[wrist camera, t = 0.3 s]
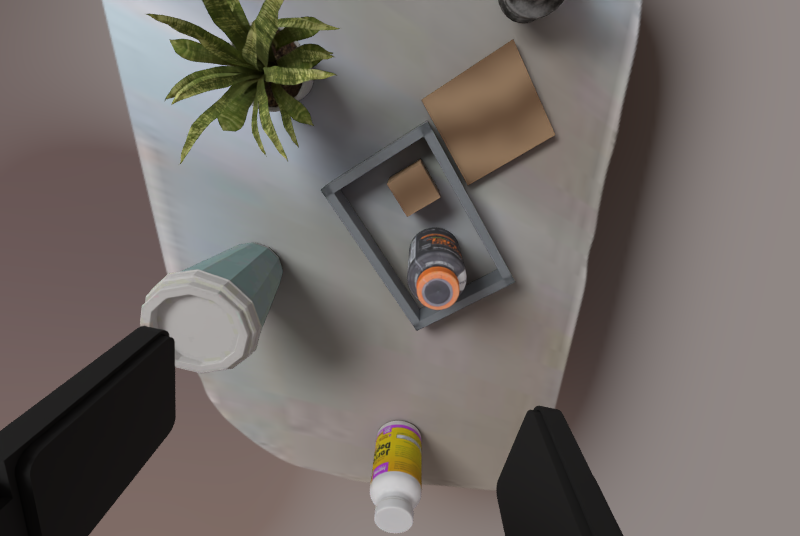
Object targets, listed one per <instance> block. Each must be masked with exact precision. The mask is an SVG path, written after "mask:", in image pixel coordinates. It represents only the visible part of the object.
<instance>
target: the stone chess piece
mask: <svg viewBox="0 0 800 536" xmlns="http://www.w3.org/2000/svg"><path fill="white" fill-rule="evenodd" d="M563 1H564V0H499V5H500V7H501V9H502V11H503V12H504V14H505V15H506V16H507V17H508V18H510V19H511V20H512V21H515V22H519V23H527V22H531V21H534V20H536V19H537V18H540V17H544V16H547V15H548V14H550V13H551V12H553V11H554V10H556V9H557V8H558V6H559V5H560V4H561V3H562V2H563Z"/></svg>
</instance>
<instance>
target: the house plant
mask: <svg viewBox="0 0 800 536" xmlns="http://www.w3.org/2000/svg"><path fill="white" fill-rule="evenodd" d="M202 1H203V3H204V5H205V7H206V9H207V11H208V13H209V15H210V17H211V18H212V20H213V22H214V23H215V24H216V25H217V26H218V27H219V28H220V29H221V30H222V31H223V32H224V33H225V34H226V35H227V37H228V38H229V39H230V41H231V42H230V44H229V43H227V42H226V41H224V40H222V39H220V38H218V37H217V36H215V35H213V34H211V33H209V32H207V31H206V30H204V29H202V28H201V27H199V26H197V25H195V24H192V23H190V22H187V21H184V20H181V19H178V18H174V17H170V16H165V15H156V14H147V15H149V16H151V17H152V18H154V19H155V20H157V21H160V22H162V23H165V24H168V25H169V26H171V27H172V28H173V29H175V30H177V31H178V32H180V33H183V34H186V35H188V36H191V37H193V38H195V39H197V40H199V42H200V43H201V44H200V43H198V42H195V41H192V40H188V39H176V40H170V42H171V44H172V46H173V48H174V50H175V52H176V53H177V54H178V55H180V56H181V57H183V58H185V59H187V60H190V61H195V62H204V63H213V64H220V65H227V66H219V67H214V68H210V69H206V70H201V71H197V72H194V73H192V74H190V75H188V76H186V77H185V78H183V79H182V80H181V81H179V82H178V83H177V84H176V85H175V86H174V87H173V88H172V89H171V91H170V93H169V94H168V95H167V97H166V99H169V98H173V97H175V98H174V100H173V102H172V104H174V103H176V102H178V101H180V100H183V99H186V98H189V97H191V96H194V95H197V94H200V93H203V92H206V91H210V90H214V89H220V88H226V87H229V86H231V85H232V86H231V87H230V88H229V90H228V91H227V92H226V93H225V94H224V95H223V96H222V97H221V98H220V99H219V100H218V101H217V102H216V103H214V104H213V105H212V106H211V107H210V108H208V109H207V110H206V111H205V112H204V113H203V114H202V115H200V116H199V118H198V119H197V120H196V121H195V122H194V123H193V124H192V126H191V128H190V131H189V133H188V136H187V139H186V142H185V145H184V147H183V150H182V153H181V163H182V161H183V160H184V158H185V157H186V155H187V154H188V152H189V151H190V149H191V147H192V146H193V144H194V143H195V141H196V140H197V139H198V137H199V136H200V135H201V133H202V132H203V131H204V130H205V128H206V127H207V126H208V125H209V124H210V123H211V122H212V121H213V120H215V119H216V118H218V121H219V124H220V126H221V128H222V130H223V131H237V130H239V129H241V128H242V126H243V125H244V122H245V120H246V116H247V112H248V109H249V107H250V106H251V105H252V106H253V114H252V133H253V136H254V138H255V140H256V142H257V143H258V145H259V147H260V149H261V151H262V152H263V153H264V154H265V155H266V153H265V151H264V148H263V145H262V142H261V140H260V136H259V132H258V127H257V112H258V109H259V115H260V120H261V124H262V128H263V130H264V131H265V133H266V134H267V136H268V137H269V138H270V139H271V141H272V142H273V144H274V145H275V147H276V148H277V150H278V151H279V153H280V154H281V155H282V156H284V157H285V158H286V159H287V156H286V154H285V152H284V150H283V148H282V145H281V143H280V141H279V139H278V136H277V134H276V131H275V129H274V126H273V124H272V121H271V118H270V114H269V111H271V112H276V111H280V112H281V116H282V121H283V125H284V128H285V129H286V131H287V132H288V134H289V135H290V137H291V139H292V141H293V142H294V143H295V144H296V145H297V146H298V143H297V139H296V136H295V133H294V129H293V125H292V122H291V117H292V118H293V119H294V120H295V121H298V122H300V123H304V124H309V125H312V126H314V125H313V124H312V120H311V116H310V113H309V112H308V110H307V109H306V108H305V107H304V105H303V104H302V103H300V102H299V100H301V99H302V98H304V97H305V96H306V95H307V94H308V93H309V92H310V90H311V88H312V86H313V81H314V80H316V79H326V78H328V77H330V76H333V75H336V74H334V73H331V72H326V71H322V70H316V69H313V67H314V66H316V65H317V64H318V63H319V62H320V61H321V60H323V59H329V58H332V57H334V56H332V55H329V54H333V53H331V52H328V51H326V50H325V49H323V48H322V47H321V46H319V45H316V44H304V45H302V46H300V44H299V43H298V40H302V39H306V38H309V37H312V36H314V35H315V34H316V33H317V32H318V31H319V30H336V29H340V28H335V27H333V26H330V25H327V24H324V23H323V22H321V21H319V20H318V19H316V18H314V17H301V18H282V19H278V11H279V9H280V7H281V5H282V3H283V1H284V0H266V1H265V2H264V3H263V5H262V8H261V10H260V12H259V14H258V16H257V18H256V20H254V21H253V22H251V23H249V22H248V20H247V18H246V16H245V13H244V11H243V9H242V7H241V5H240V2H239V1H238V0H202ZM283 27H285V28H283ZM335 58H336V57H335ZM166 99H165V100H166ZM290 116H291V117H290ZM298 148H299V146H298ZM287 161H288V159H287ZM181 163H180V164H181ZM180 164H179V165H180Z"/></svg>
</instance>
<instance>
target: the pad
mask: <svg viewBox="0 0 800 536" xmlns="http://www.w3.org/2000/svg"><path fill="white" fill-rule="evenodd" d="M422 102H423V104H424V106H425V108H426V109H427V111H428V113H429V115H430V117H431V119H432V120H433V122H434V124H435V126H436V128H437V130H438V132H439V133H440V135H441V137H442V139H443V141H444V143H445V144H446V146H447V148H448V150H449V152H450V154H451V156H452V157H453V159H454V161H455V163H456V165H457V167H458V168H459V170H460V172H461V174H462V176H463V178H464V180H465V181H466V183H467V185H470V184H471V183H473V182H475V181H476V180H478V179H480V178H482V177H483V176H485V175H487V174H489V173H490V172H492V171H494V170H495V169H497V168H499V167H501V166H502V165H504V164H506V163H508V162H509V161H511V160H513V159H514V158H516V157H518V156H520V155H521V154H523V153H525V152H527V151H528V150H530V149H532V148H533V147H535V146H537V145H539V144H540V143H542V142H544V141H546V140H547V139H549V138H551V137H552V136H554V135H555V133H554V131H553V129H552V126H551V124H550V122H549V120H548V117H547V115H546V113H545V111H544V108H543V106H542V104H541V101H540V99H539V97H538V95H537V92H536V90H535V88H534V85H533V83H532V81H531V79H530V76H529V74H528V72H527V70H526V67H525V65H524V63H523V60H522V58H521V56H520V54H519V51H518V49H517V47H516V44H515V42H514V40H511V41H510V42H508V43H507V44H505V45H504V46H502V47H501V48H499V49H498V50H496V51H495V52H493V53H492V54H490V55H488V56H487V57H485V58H484V59H482V60H481V61H479V62H478V63H476V64H475V65H473V66H472V67H470V68H469V69H467V70H466V71H464V72H463V73H461V74H460V75H458V76H457V77H455V78H454V79H452V80H451V81H449V82H448V83H446V84H445V85H443V86H441V87H440V88H438V89H437V90H435V91H434V92H432V93H431V94H429V95H428V96H426V97H425V98H423V99H422Z"/></svg>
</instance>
